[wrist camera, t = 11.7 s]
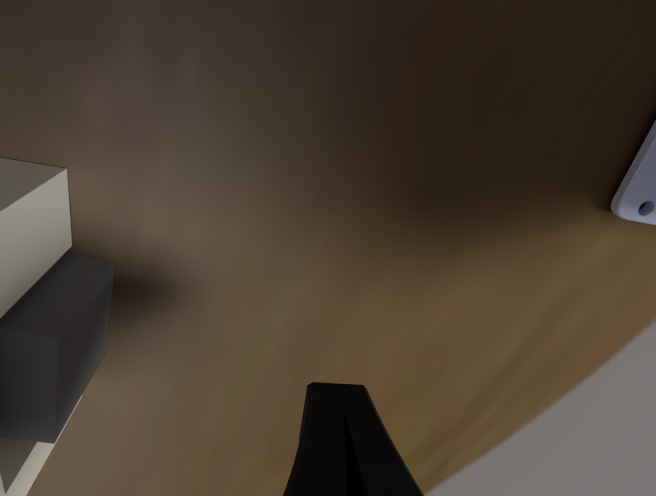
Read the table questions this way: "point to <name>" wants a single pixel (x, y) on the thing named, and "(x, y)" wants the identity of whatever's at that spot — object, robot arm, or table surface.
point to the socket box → (28, 277)
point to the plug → (53, 346)
